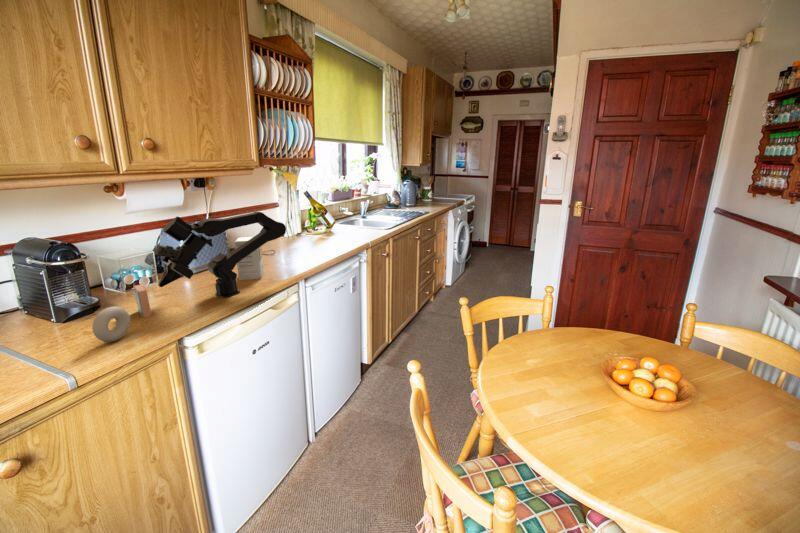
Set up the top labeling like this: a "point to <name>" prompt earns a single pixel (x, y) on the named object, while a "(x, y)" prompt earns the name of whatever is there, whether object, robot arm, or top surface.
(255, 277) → the supplement box
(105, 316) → the donut
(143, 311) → the terracotta tile
